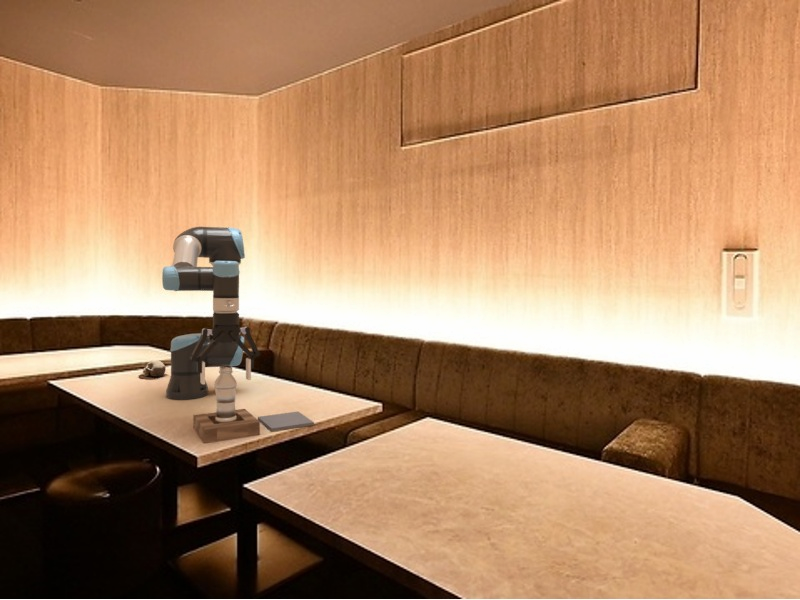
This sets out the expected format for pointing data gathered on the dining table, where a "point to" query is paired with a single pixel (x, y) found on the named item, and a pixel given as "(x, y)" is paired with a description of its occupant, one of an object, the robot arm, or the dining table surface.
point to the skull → (154, 370)
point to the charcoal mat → (285, 421)
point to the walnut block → (225, 426)
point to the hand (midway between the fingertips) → (226, 381)
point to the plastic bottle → (225, 396)
